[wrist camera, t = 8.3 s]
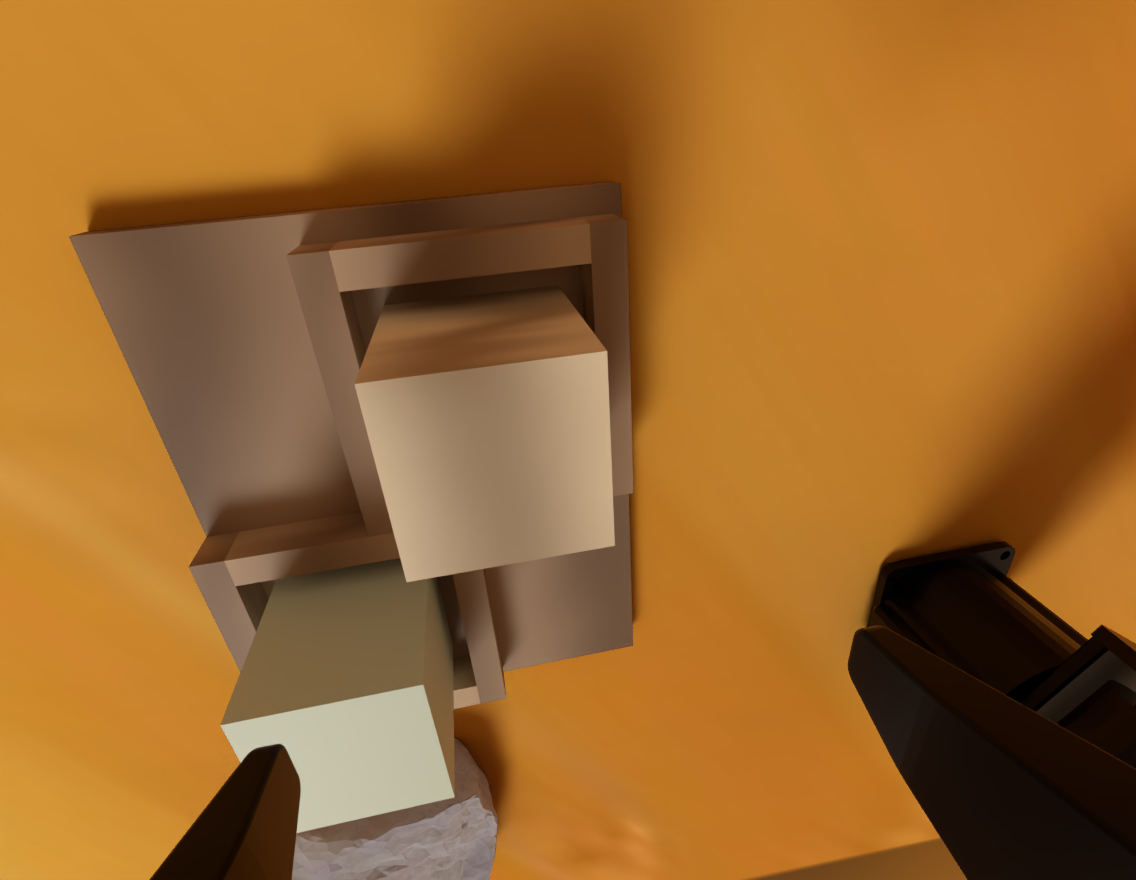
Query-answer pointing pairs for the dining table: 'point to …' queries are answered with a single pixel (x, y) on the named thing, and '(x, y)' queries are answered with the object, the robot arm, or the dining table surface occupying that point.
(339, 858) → the stone block
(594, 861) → the dining table surface
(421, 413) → the oak block
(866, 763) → the dining table surface
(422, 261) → the walnut base board
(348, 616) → the sage block
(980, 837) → the robot arm
